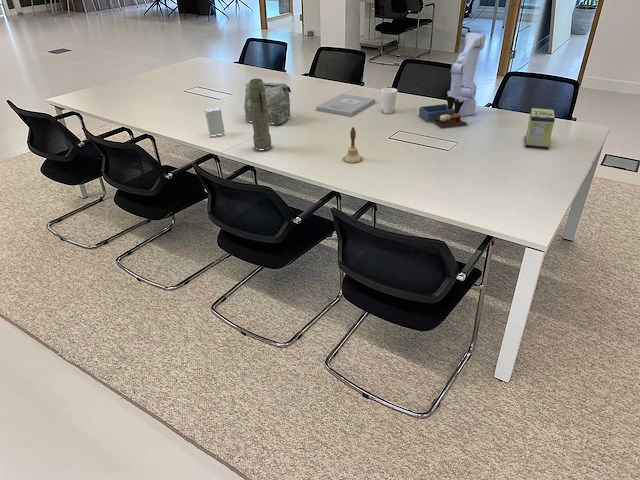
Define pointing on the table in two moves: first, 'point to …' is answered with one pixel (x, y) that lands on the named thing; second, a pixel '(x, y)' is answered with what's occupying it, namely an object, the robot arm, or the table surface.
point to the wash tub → (434, 112)
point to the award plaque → (345, 104)
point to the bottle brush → (449, 117)
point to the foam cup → (388, 99)
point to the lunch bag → (272, 102)
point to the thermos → (259, 115)
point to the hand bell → (352, 149)
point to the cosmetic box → (214, 121)
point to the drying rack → (450, 122)
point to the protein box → (540, 128)
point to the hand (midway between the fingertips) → (453, 111)
